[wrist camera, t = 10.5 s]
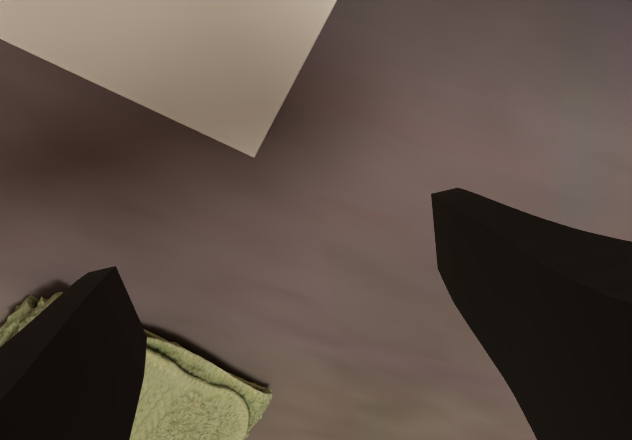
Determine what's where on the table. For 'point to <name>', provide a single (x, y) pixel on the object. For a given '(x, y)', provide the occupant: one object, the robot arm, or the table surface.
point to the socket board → (179, 54)
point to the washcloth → (176, 389)
